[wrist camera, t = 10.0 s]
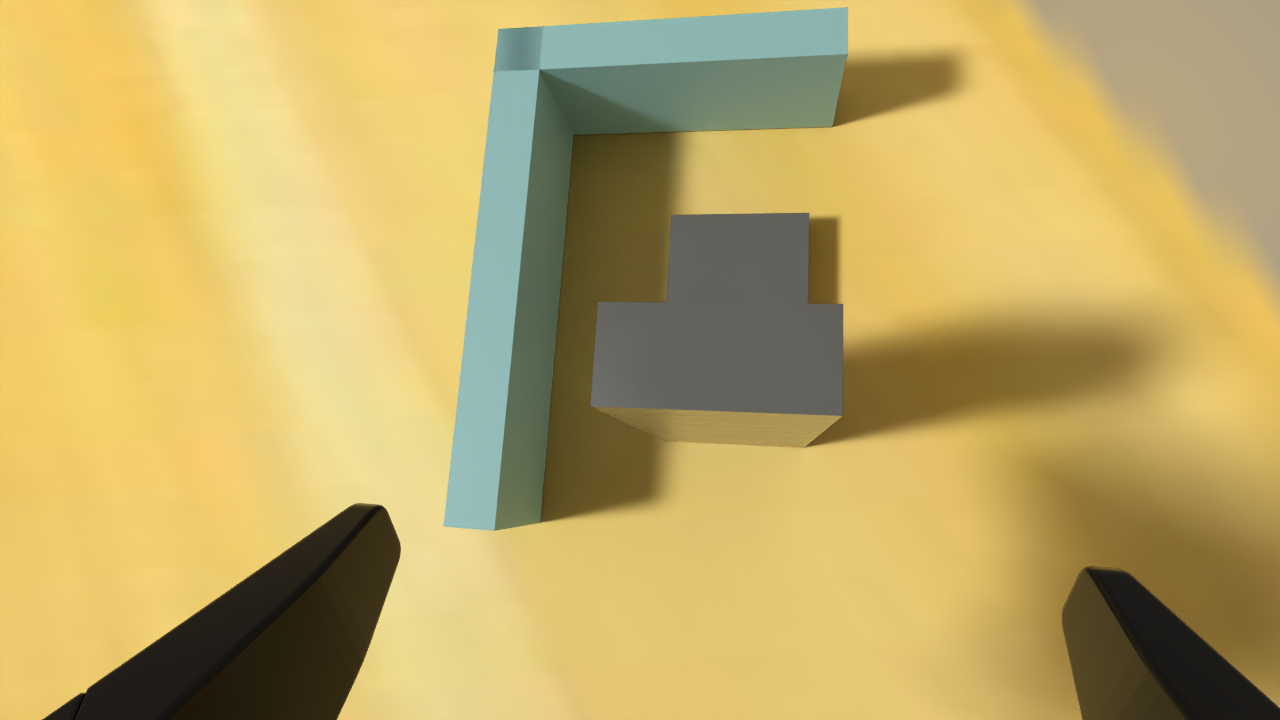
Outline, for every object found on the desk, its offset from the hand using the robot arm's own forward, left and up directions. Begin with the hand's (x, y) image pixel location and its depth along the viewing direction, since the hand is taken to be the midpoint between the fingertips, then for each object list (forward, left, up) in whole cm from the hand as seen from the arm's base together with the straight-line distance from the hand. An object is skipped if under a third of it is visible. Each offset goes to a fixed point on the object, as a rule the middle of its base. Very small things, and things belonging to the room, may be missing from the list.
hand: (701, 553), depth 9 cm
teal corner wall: (+6, -4, -13) cm, 15 cm away
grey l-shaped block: (+3, -5, -13) cm, 14 cm away
